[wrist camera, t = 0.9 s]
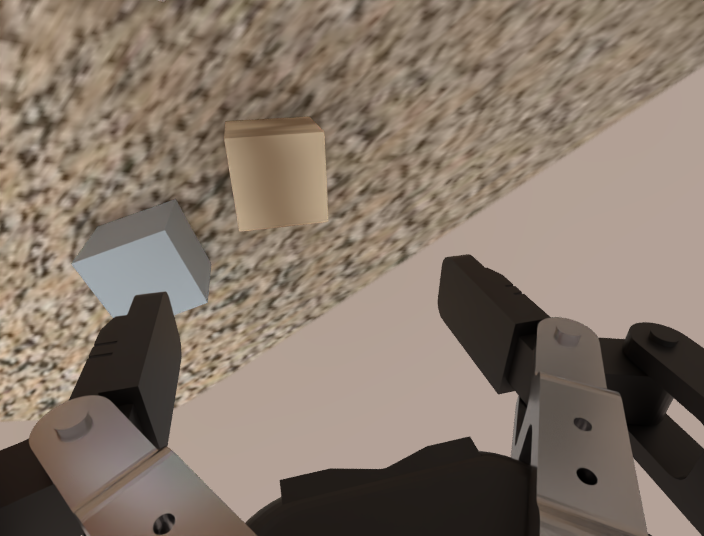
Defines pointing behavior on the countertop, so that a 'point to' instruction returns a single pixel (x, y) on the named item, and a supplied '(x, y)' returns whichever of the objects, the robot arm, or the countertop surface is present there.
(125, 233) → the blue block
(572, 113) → the countertop surface
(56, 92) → the countertop surface
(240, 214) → the maple block
